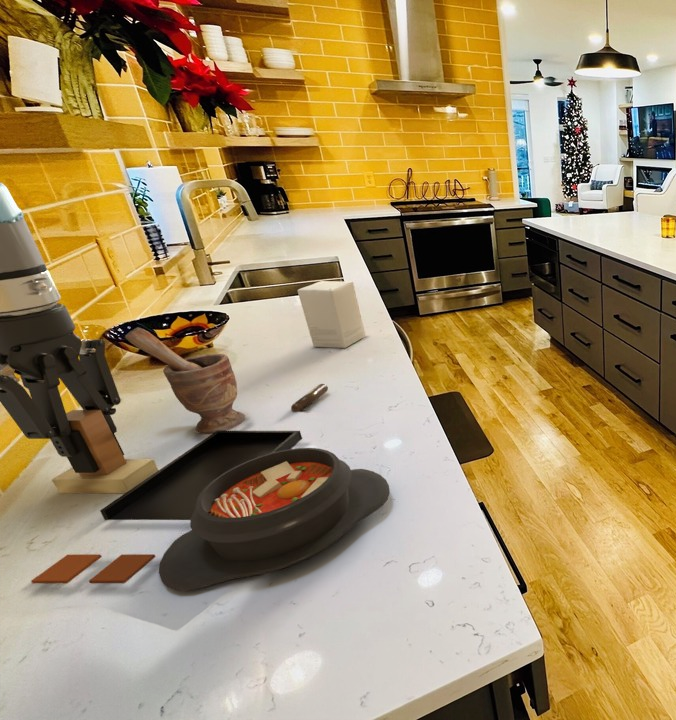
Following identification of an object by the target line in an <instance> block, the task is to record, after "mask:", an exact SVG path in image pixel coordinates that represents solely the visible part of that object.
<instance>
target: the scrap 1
mask: <svg viewBox="0 0 676 720" xmlns="http://www.w3.org/2000/svg"><path fill="white" fill-rule="evenodd" d="M100 558H102V554H99V553H98V554H97V553H95V554H92V553H91V554H89V553H88V554H66V555H65V556H64V557H62V558H60V559H58V561H56V562H55V563H54V564H52V565H51V566H50V567H47V569H46V570H44V571H42V572H41V573H40V574H38V575H37V576H36V577H34V578H33V579H31V580H30V581H31V583H32V584H68V583H70V582H71V581H72V580H73V579H75V578H77V576H79V575H80V574H81V573H83V572H84V571H85V570H86V569H88V568H89V567H91V566H92V565H93V564H94V563H96V562H97V561H98V560H99V559H100Z"/></svg>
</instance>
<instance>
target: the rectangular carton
mask: <svg viewBox="0 0 676 720" xmlns="http://www.w3.org/2000/svg"><path fill="white" fill-rule="evenodd" d="M296 291H297V294H298V297H299V298H298V299H299V300H300V304H301V305H300V306H301V308H302V312H303V314H304V318H305V321H306V325H307V329H308V331H309V335H310V339H311V342H312V346H313V347H314V348H339V349H346V348H347V347H349V346H351V345H353V344H355V343H357V342H358V341H360V340H362V339H363V338H365V337H366V336H367V333H366V330H365V327H364V326H365V325H364V322H363V317H362V313H361V309H360V306H359V302H358V296H357V292H356V289H355V284H354V281H336V280H335V281H330V280H321V281H317V282H314V283H313V284H309V285H307V286H303V287H300V288H299V289H297V290H296Z"/></svg>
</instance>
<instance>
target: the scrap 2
mask: <svg viewBox="0 0 676 720" xmlns="http://www.w3.org/2000/svg"><path fill="white" fill-rule="evenodd" d="M155 558H156V554H153V553H152V554H149V553H148V554H146V553H145V554H141V553H139V554H137V553H136V554H135V553H133V554H132V553H131V554H129V553H128V554H120V555H119V556H118V557H116V558H115V559H113V561H112V562H110V563H109V564H108V565H106V566H105V567H104V568H103V569H101V570H100V571H99V572H98V573H96V574H95V575H94V576H93V577H92V578H90V579H89V580H88V582H89V583H90V584H126V583H127V582H129V580H130V579H131V578H133V577H134V576H135V575H136V574H137V573H138V572H140V571H141V570H142V569H143V568H145V566H147V565H148V564H149V563H150V562H151V561H152V560H154V559H155Z"/></svg>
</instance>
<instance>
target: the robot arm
mask: <svg viewBox="0 0 676 720" xmlns="http://www.w3.org/2000/svg"><path fill="white" fill-rule="evenodd" d="M61 298H62V296H61V294H60V292H59V289H58V288H57V285H56V284H55V281H54V280H53V277H52V275H51V273H50V271H49V270H48V268H47V265H46V263H45V260H44V259H43V256H42V254H41V252H40V250H39V247H38V245H37V243H36V241H35V239H34V237H33V234H32V232H31V230H30V228H29V226H28V223H27V222H26V219H25V217H24V212H23V211H22V209H21V208H19V206H18V205H17V203H16V202H15V200H14V198H13V196H12V194H11V193H10V190H9V188H8V187H7V186H6V185H5V184H4V183H2V182H1V181H0V404H1V405H2V406H3V408H4V409H5V410H6V412H7V413H8V414H9V416H10V417H11V419H12V420H13V422H14V423H15V424H16V425H17V427H18V428H19V430H20V431H21V432H22V433H23V435H24V437H26V439H29V440H39V439H40V440H50V442H51V443H52V445H53V447H54V449H55V450H56V452H57V454H58V455H59V457H61V458H62V457H63V458H65V457H66V458H67V461H68V462H69V464H70V466H71V468H73V469H74V471H75V473H95V472H97V471H98V470H100V469H99V467H98V465H97V463H96V461H95V460H94V458H93V456H92V454H91V452H90V450H89V448H88V446H87V444H86V442H85V440H84V438H83V437H82V435H81V433H80V431H79V430H71V428H70V425H69V421H68V418H67V415H66V413H67V412H66V408H65V405H64V402H63V399H62V396H61V393H60V390H59V386H60V385H61V382H62V384H63V386H65V387H66V389H67V390H68V391H69V393H70V394H71V396H72V397H73V398H74V400H75V401H76V402H77V404H78V405H79V406H80V408H81V410H101V412H102V414H103V416H104V418H105V420H106V422H107V424H108V426H109V428H110V430H111V432H112V434H113V436H114V438H115V440H116V442H117V444H118V446H119V448H120V450H121V452H122V454H123V456H125V453H124V451H123V449H122V446H121V445H120V443H119V440H118V439H117V436H116V434H117V432H118V431H117V430H118V429H117V427H116V426H117V425H116V424H115V422H114V420H113V418H112V416H113V415H115V414H116V413H117V409H116V408H115V406H118V405H120V403H121V401H122V399H121V397H120V394H119V392H118V391H119V390H118V389H117V385H116V383H115V380H114V377H113V374H112V372H111V368H110V365H109V363H108V361H107V358H106V355H105V354H106V341H104V339H100V338H99V339H97V338H96V339H95V338H94V339H91V338H90V339H89V338H88V339H86V338H85V339H81V337H80V336H78V335H77V334H75V332H74V331H75V330H76V325H75V323H74V321H73V318H72V316H71V315H70V312H69V310H68V308H67V306H66V305H64V304H62V303H61V302H60V300H61ZM59 302H60V303H59ZM15 374H16V375H18V376H19V377H17V376H16V375H15ZM20 381H21V382H22V384H20V383H19V382H20ZM24 387H25V388H26V389H27V390H28V391H27V390H26V389H25V388H24ZM28 392H29V393H28Z"/></svg>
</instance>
